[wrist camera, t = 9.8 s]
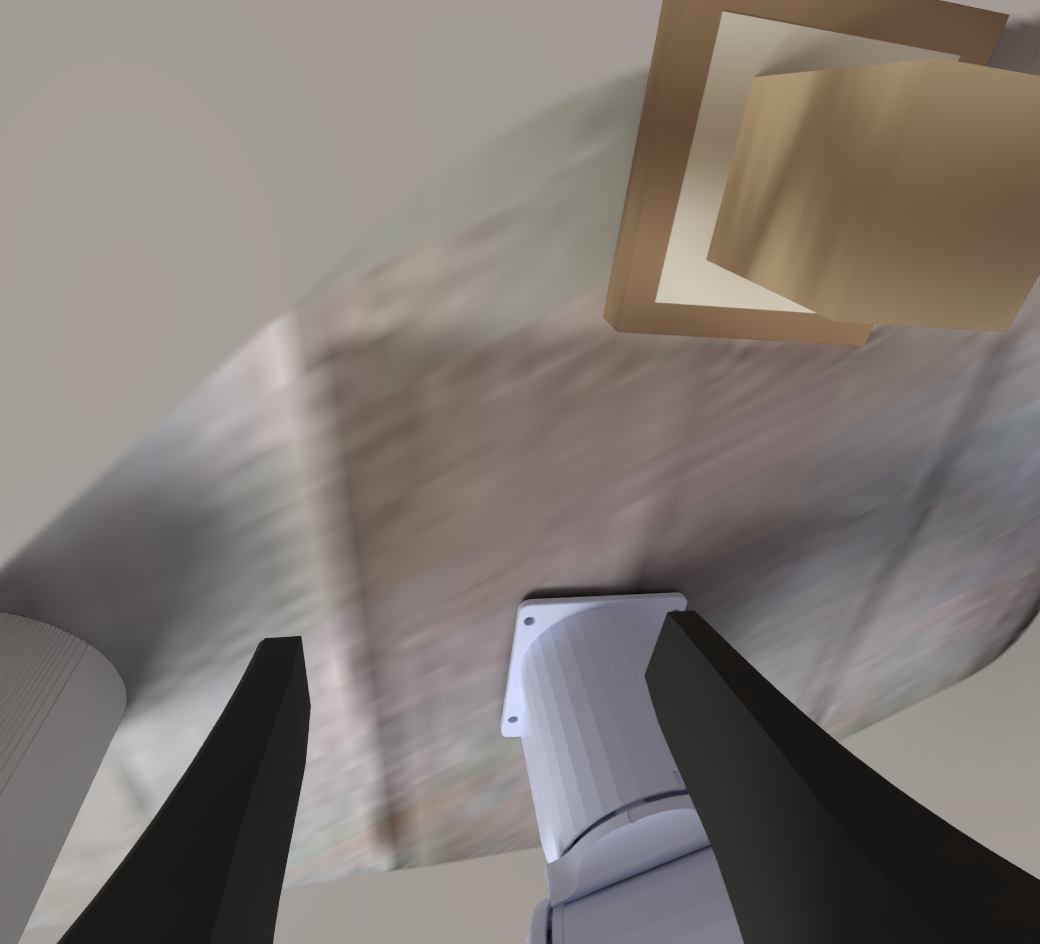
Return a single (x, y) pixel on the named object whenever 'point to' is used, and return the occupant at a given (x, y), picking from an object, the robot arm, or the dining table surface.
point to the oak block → (889, 193)
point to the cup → (46, 751)
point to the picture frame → (714, 134)
